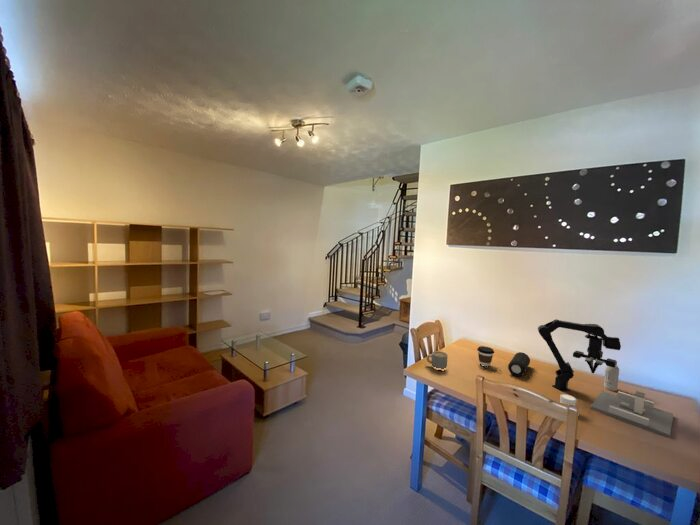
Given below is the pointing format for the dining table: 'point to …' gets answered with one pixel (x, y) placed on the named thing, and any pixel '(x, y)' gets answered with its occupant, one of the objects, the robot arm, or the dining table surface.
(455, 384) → the dining table surface
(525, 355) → the portable speaker
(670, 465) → the dining table surface
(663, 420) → the breaker panel
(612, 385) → the energy drink can
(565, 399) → the white cylinder
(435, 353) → the coffee mug
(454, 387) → the dining table surface
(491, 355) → the coffee cup
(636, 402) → the beige rectangular block
